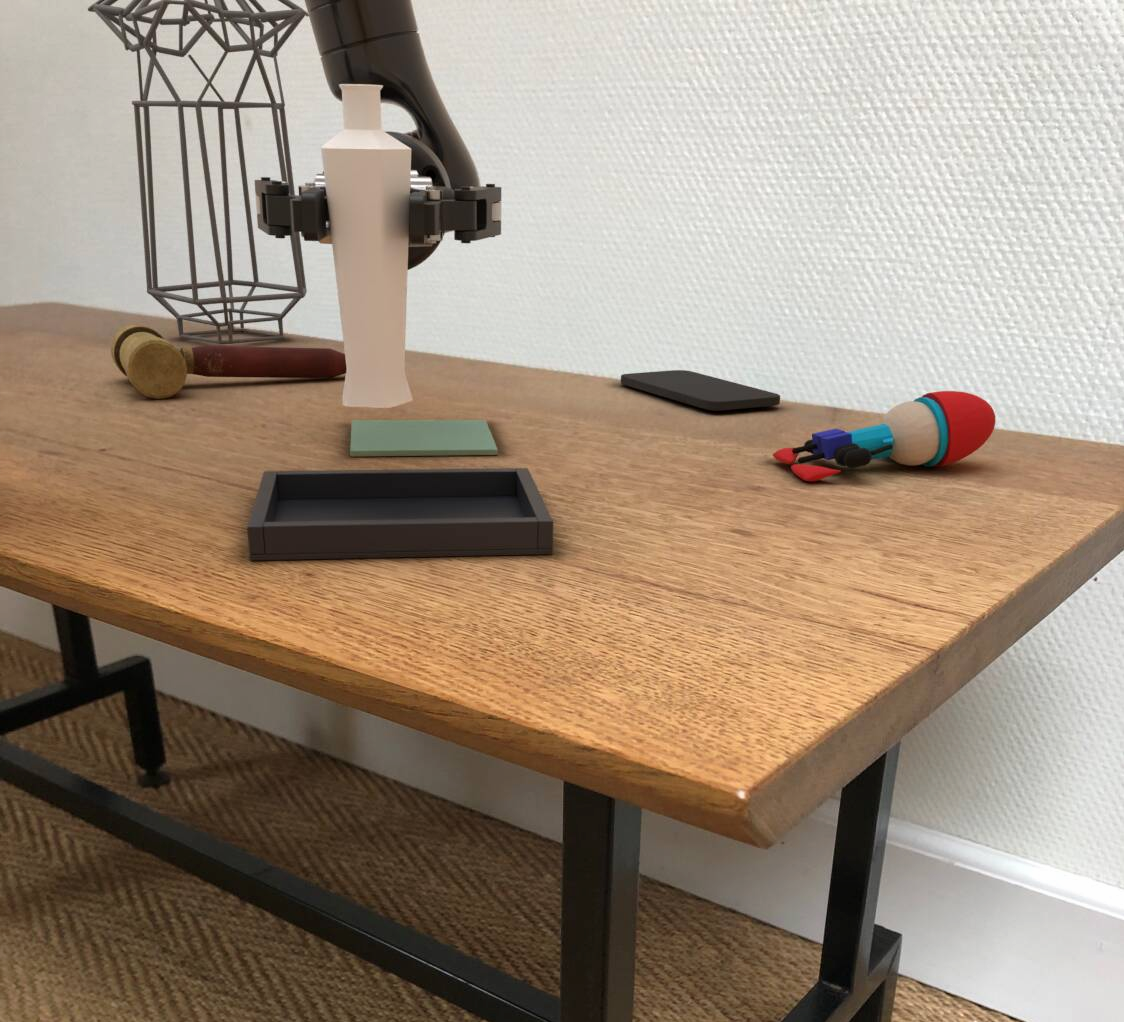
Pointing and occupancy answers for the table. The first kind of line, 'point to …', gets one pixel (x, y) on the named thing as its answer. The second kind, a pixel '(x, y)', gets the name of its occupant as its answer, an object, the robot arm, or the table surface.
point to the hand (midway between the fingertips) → (363, 218)
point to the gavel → (211, 361)
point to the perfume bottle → (370, 248)
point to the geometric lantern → (234, 18)
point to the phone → (700, 390)
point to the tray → (398, 514)
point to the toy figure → (903, 436)
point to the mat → (421, 438)
